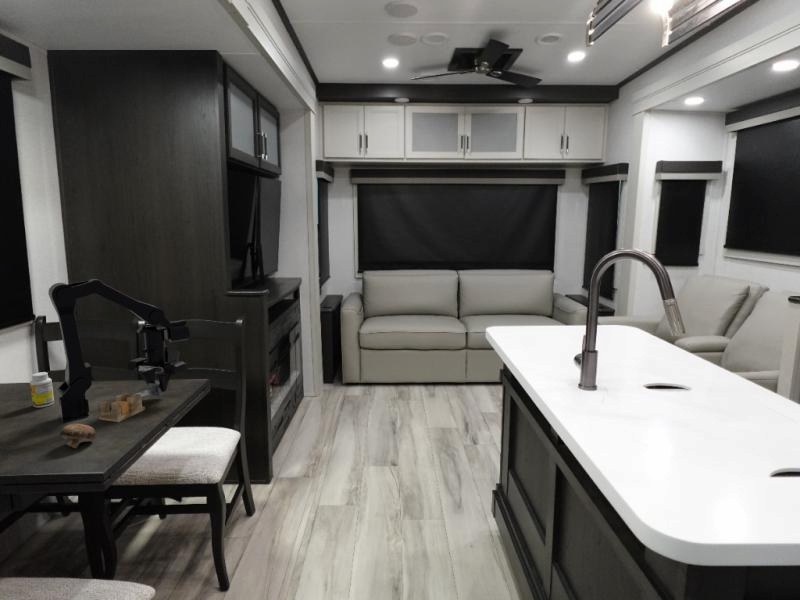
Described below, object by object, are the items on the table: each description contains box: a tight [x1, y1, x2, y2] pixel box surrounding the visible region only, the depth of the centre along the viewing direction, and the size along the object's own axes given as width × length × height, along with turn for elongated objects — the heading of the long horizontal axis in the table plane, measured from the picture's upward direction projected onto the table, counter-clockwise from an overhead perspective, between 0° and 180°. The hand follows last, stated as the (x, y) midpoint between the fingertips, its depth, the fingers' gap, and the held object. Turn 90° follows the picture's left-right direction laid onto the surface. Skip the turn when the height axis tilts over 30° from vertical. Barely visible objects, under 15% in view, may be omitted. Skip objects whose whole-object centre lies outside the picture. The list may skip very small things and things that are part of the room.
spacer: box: [110, 400, 129, 414], centre depth 149 cm, size 2×4×3 cm, turn 73°
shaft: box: [130, 380, 166, 399], centre depth 159 cm, size 12×4×4 cm, turn 163°
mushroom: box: [59, 423, 97, 449], centre depth 129 cm, size 8×8×6 cm
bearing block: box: [98, 392, 146, 423], centre depth 150 cm, size 10×7×5 cm
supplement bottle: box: [29, 371, 55, 409], centre depth 158 cm, size 6×6×10 cm
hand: (158, 391), depth 164 cm, fingers closed on shaft, 4 cm apart
